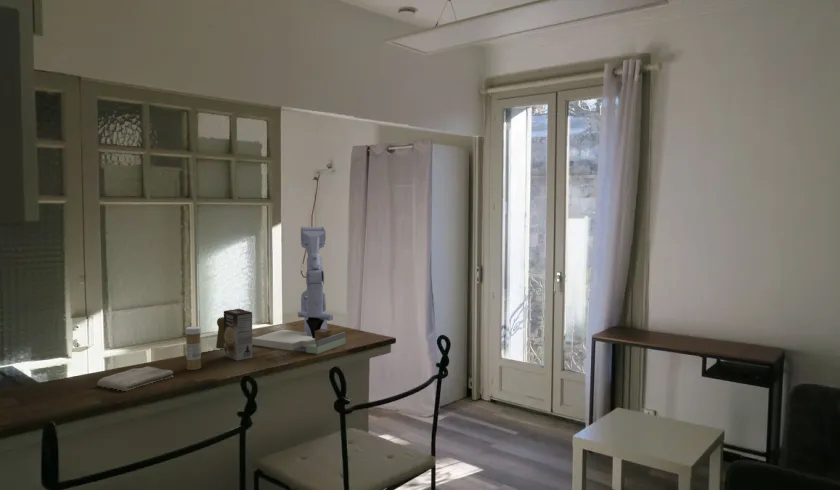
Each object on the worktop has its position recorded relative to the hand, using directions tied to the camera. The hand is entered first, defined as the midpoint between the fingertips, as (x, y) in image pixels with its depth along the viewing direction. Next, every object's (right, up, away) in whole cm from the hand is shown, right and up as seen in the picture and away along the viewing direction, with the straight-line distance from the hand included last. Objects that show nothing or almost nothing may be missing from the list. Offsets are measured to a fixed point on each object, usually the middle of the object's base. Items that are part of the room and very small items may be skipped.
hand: (315, 337), depth 224 cm
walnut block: (+3, -1, -2) cm, 4 cm away
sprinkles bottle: (-34, -5, -31) cm, 46 cm away
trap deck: (-7, -3, +3) cm, 8 cm away
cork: (-33, -3, -1) cm, 34 cm away
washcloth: (-45, -7, -46) cm, 64 cm away
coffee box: (-24, -4, -16) cm, 29 cm away
